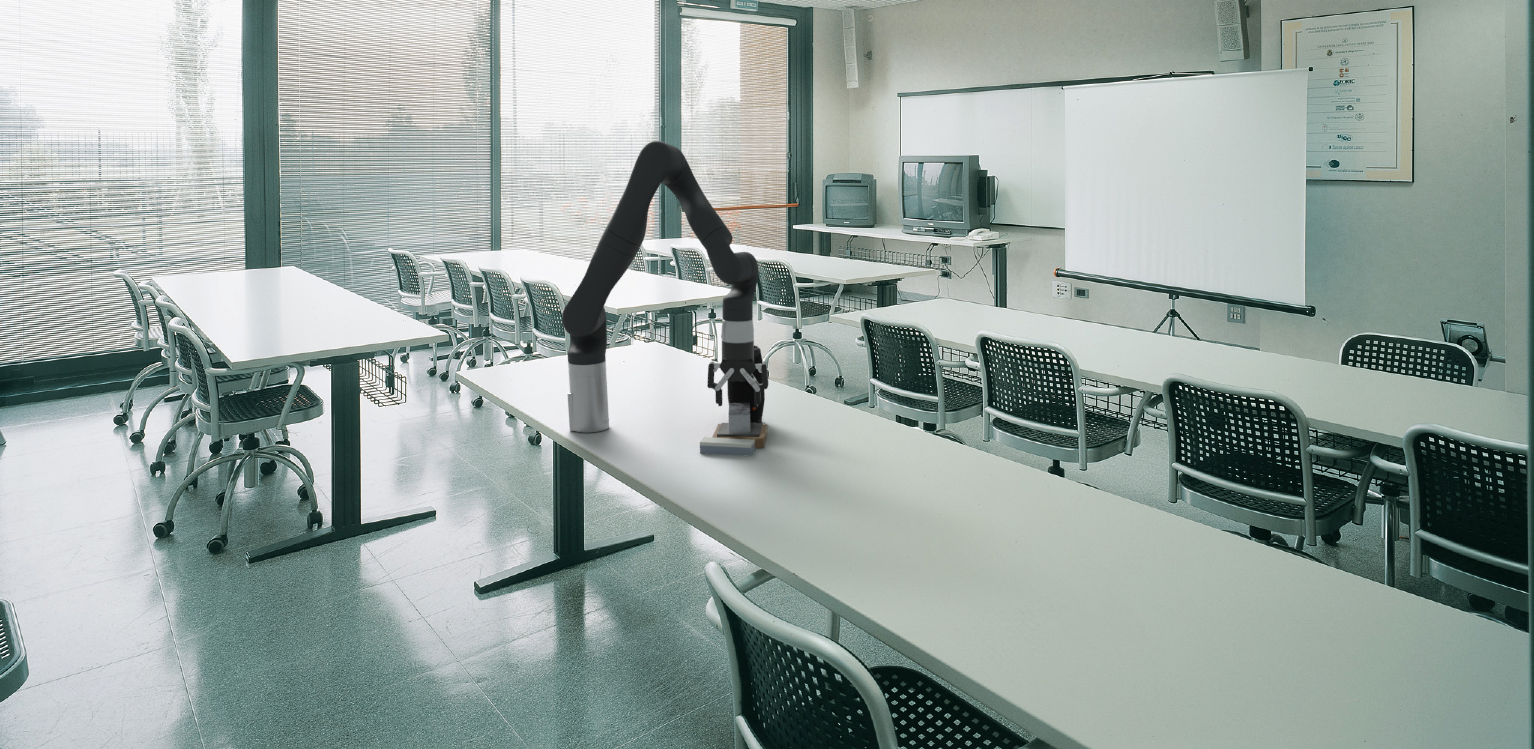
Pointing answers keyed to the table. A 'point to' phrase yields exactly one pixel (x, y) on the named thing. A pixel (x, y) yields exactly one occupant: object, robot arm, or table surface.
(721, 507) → the table surface
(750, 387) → the portable speaker
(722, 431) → the stand
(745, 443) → the eraser
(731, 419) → the block
